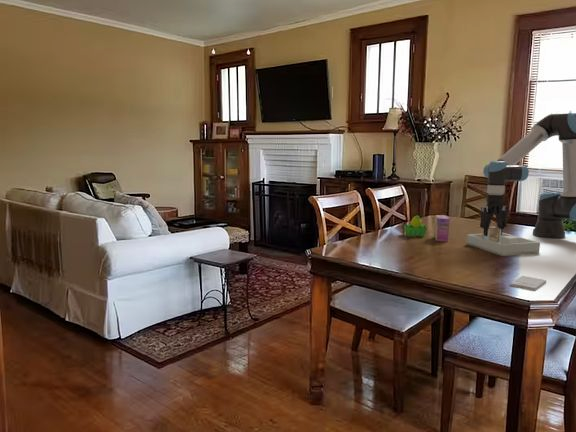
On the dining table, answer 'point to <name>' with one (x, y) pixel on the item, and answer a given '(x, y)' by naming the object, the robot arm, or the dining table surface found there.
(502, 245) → the tote
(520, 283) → the external hard drive
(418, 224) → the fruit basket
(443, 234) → the box
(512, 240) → the grey cube
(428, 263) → the dining table surface
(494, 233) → the beech cylinder
